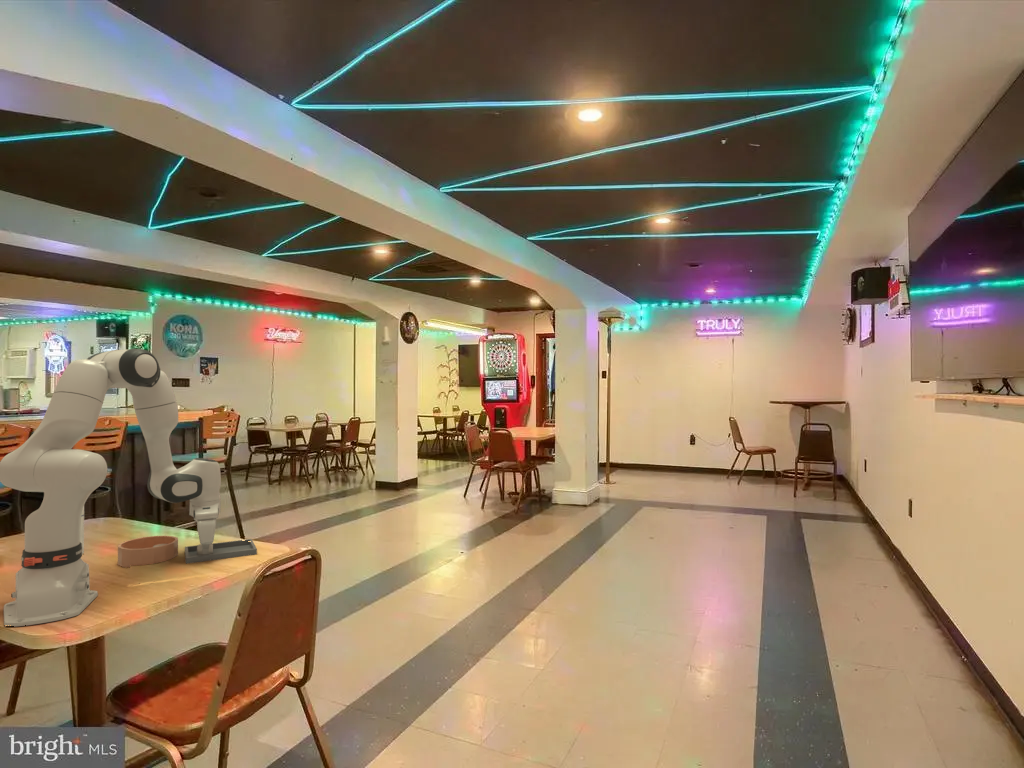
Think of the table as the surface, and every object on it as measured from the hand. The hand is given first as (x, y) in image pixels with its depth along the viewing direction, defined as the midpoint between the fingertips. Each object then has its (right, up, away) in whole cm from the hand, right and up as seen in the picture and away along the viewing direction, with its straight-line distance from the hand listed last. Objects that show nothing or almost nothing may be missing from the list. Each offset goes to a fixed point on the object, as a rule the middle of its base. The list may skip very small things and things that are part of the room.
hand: (204, 551), depth 186 cm
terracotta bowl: (-16, -2, -3) cm, 17 cm away
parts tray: (+4, -2, +2) cm, 5 cm away
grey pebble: (0, -1, 0) cm, 1 cm away
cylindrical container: (-44, -2, +2) cm, 45 cm away
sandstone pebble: (-13, -1, -1) cm, 13 cm away
